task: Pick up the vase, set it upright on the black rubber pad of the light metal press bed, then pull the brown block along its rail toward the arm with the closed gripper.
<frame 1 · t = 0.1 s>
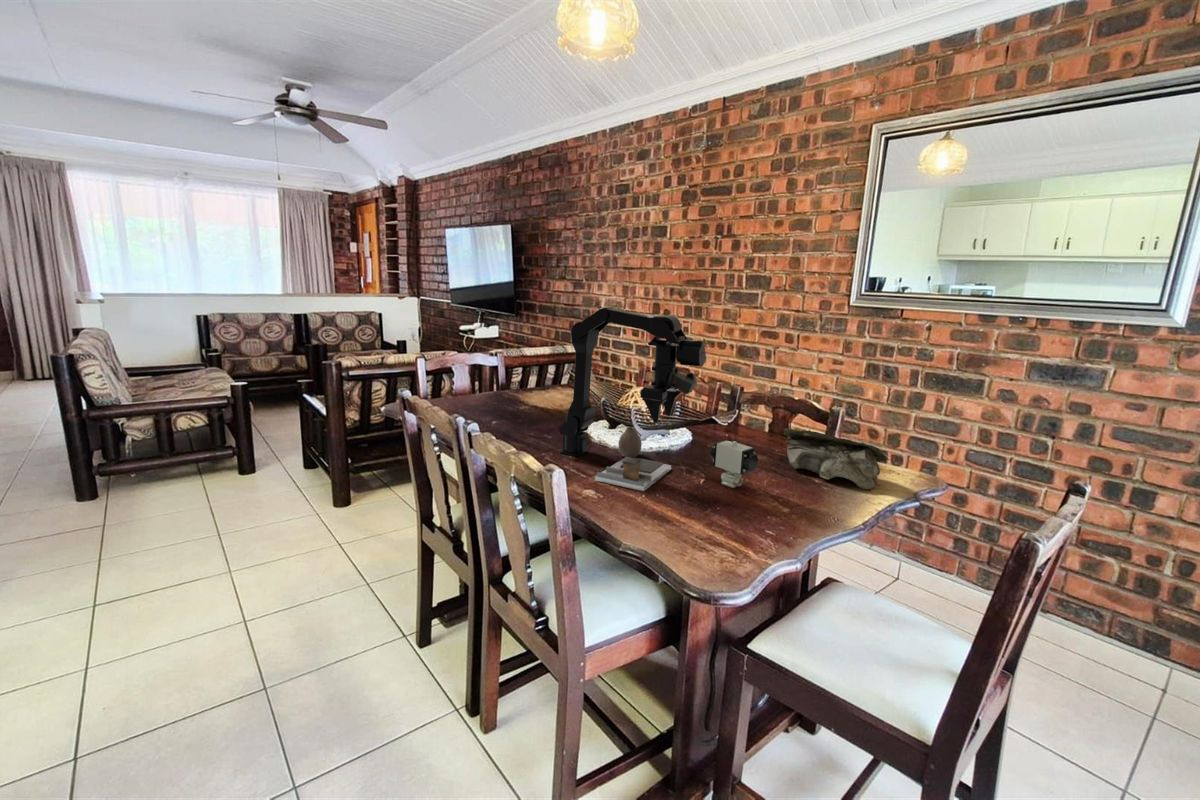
hand: (662, 419, 149), 15 cm above the table, tool pointing down, fingers open, 9 cm apart
press bed: (634, 474, 147), on the table
brown block: (631, 469, 140), point 4 cm above the table, slide at 0.0 cm
pneumatic valve: (732, 485, 142), on the table
hollow geode rock: (827, 475, 151), on the table
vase: (629, 456, 163), on the table
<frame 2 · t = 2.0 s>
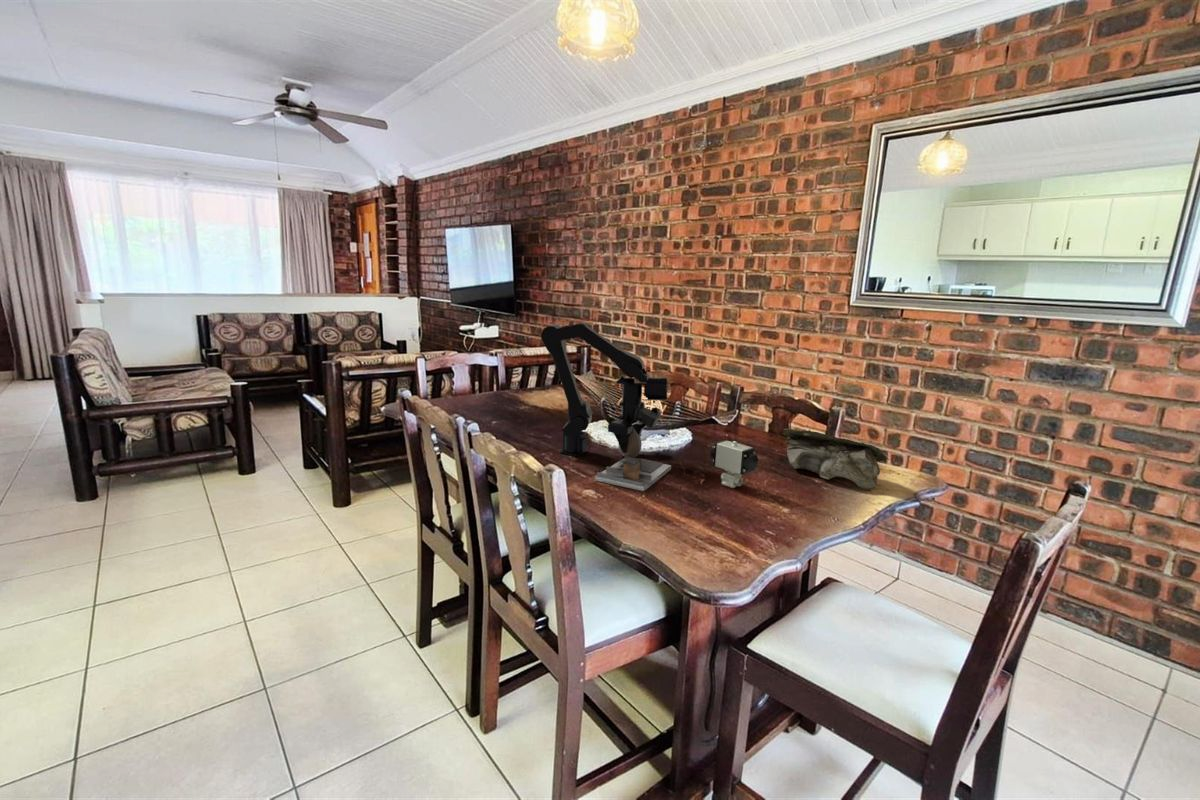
hand: (629, 449, 162), 2 cm above the table, tool pointing down, fingers closed on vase, 7 cm apart
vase: (629, 456, 163), on the table, touching gripper
everything else where it was.
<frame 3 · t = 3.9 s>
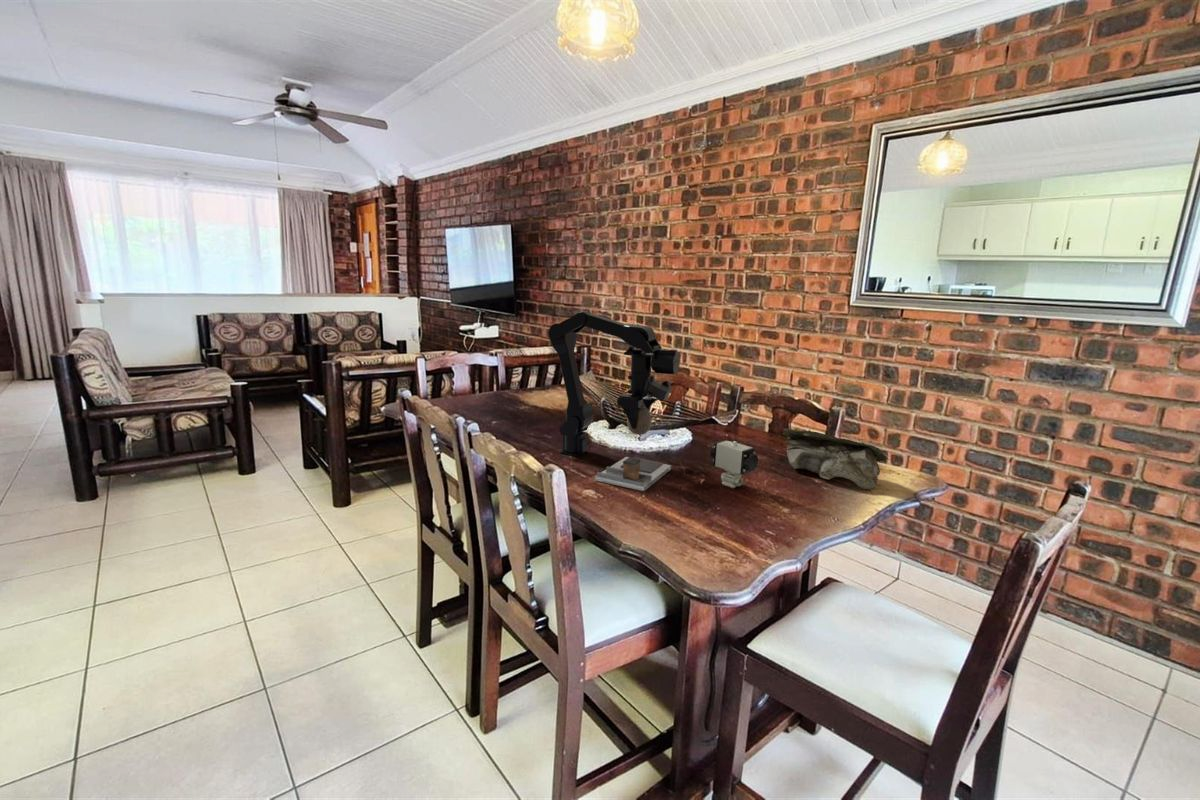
hand: (639, 425, 154), 11 cm above the table, tool pointing down, fingers closed on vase, 7 cm apart
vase: (639, 433, 154), point 9 cm above the table, touching gripper
everything else where it was.
when the fingers open (5 cm above the table, at t = 5.9 s): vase drops 1 cm, resting on press bed.
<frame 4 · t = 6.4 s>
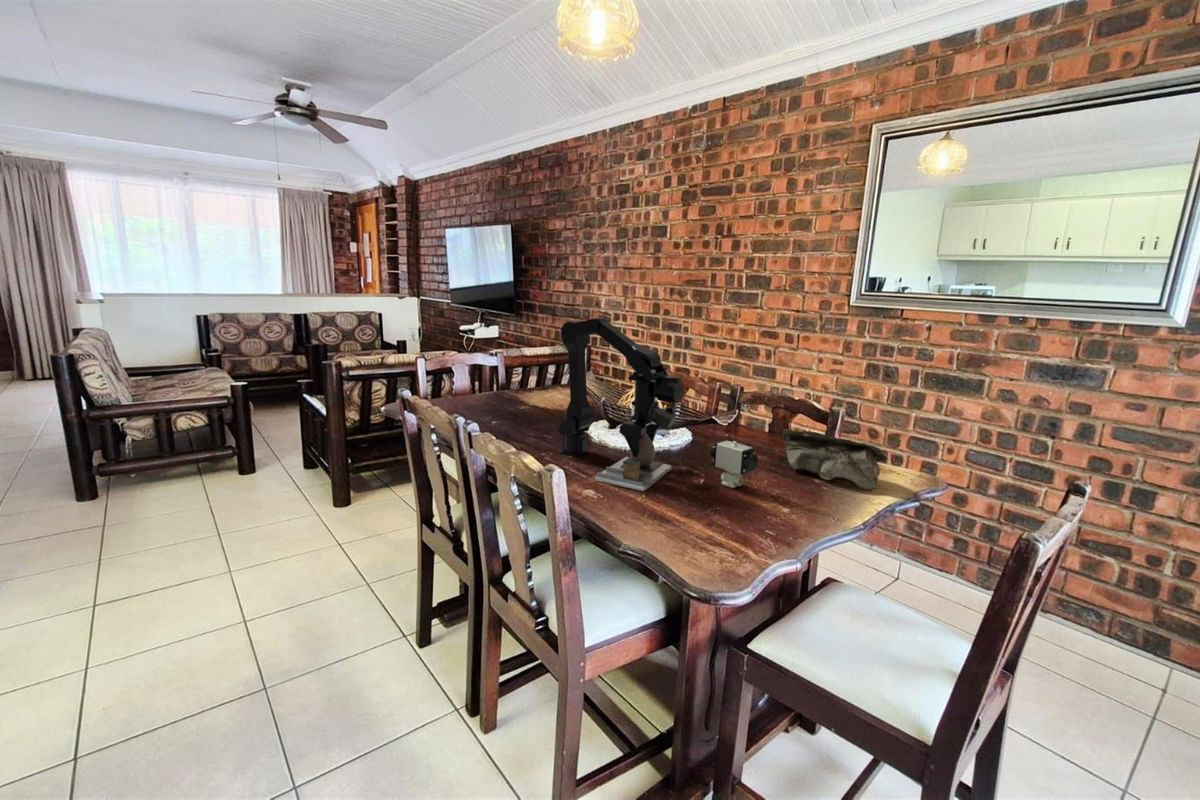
hand: (642, 452, 150), 5 cm above the table, tool pointing down, fingers open, 9 cm apart
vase: (641, 464, 151), point 1 cm above the table, touching press bed
everything else where it was.
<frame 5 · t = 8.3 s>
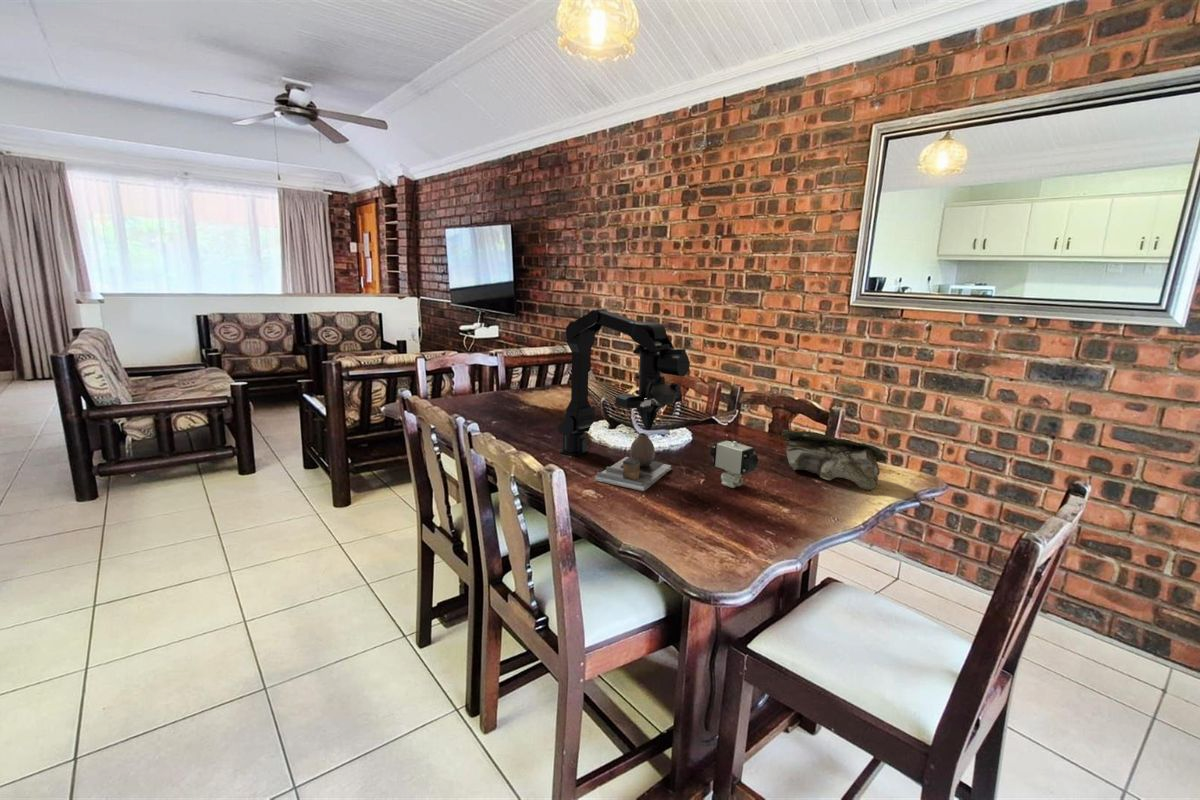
hand: (648, 429, 144), 13 cm above the table, tool pointing down, fingers closed
nothing on the table moved.
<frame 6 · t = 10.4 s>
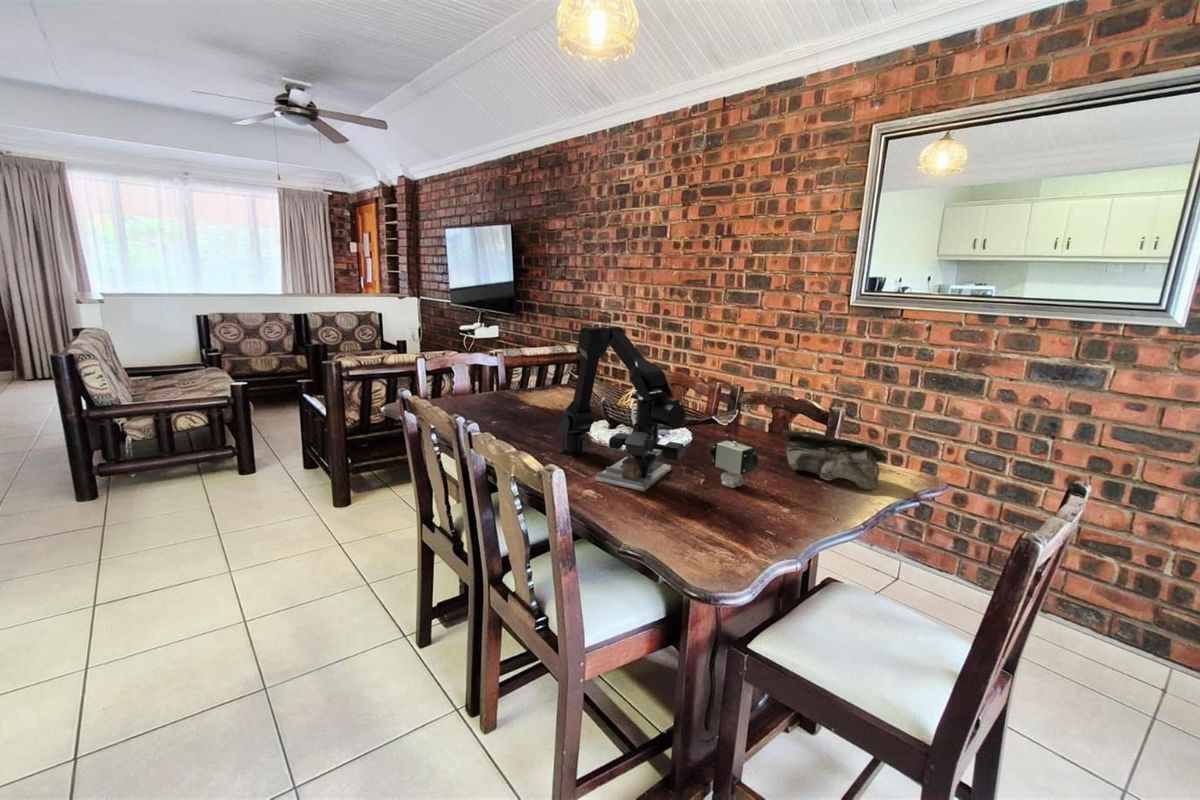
hand: (644, 477, 138), 2 cm above the table, tool pointing down, fingers closed
brown block: (630, 469, 140), point 4 cm above the table, slide at 0.2 cm, touching gripper
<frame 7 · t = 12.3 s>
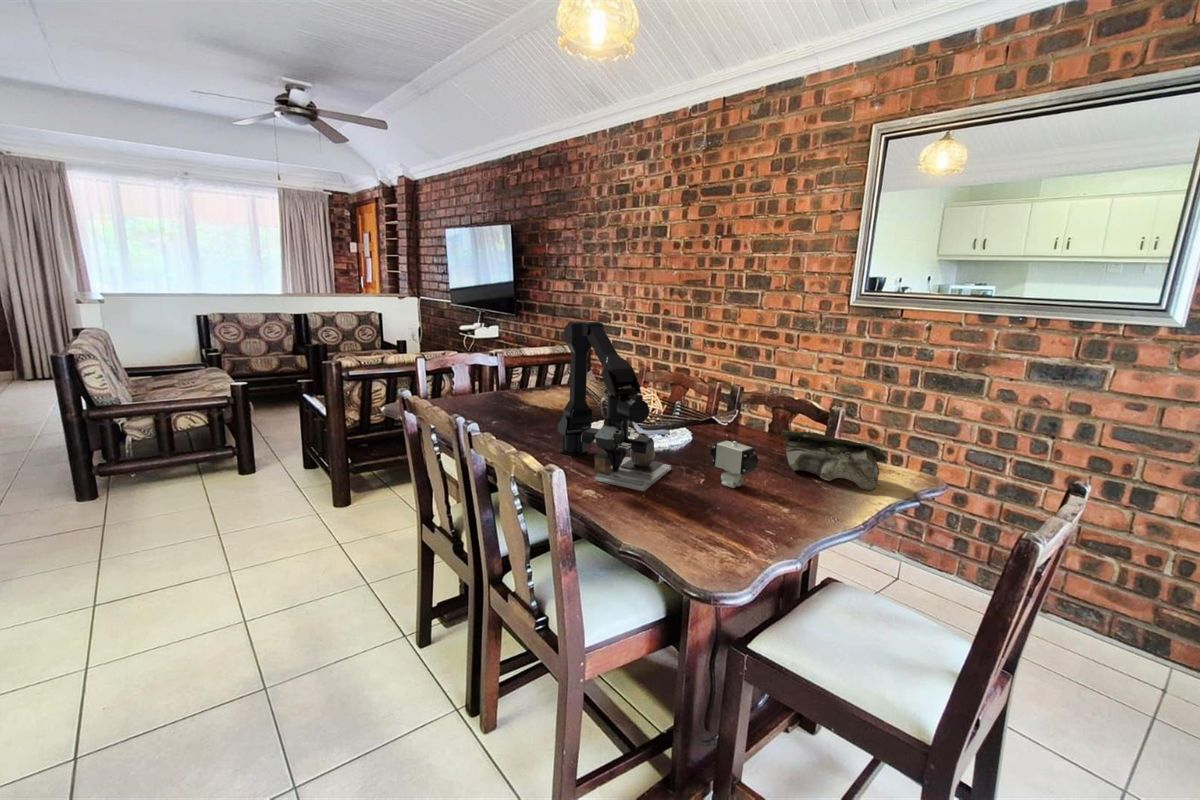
hand: (615, 471, 142), 2 cm above the table, tool pointing down, fingers closed
brown block: (602, 463, 143), point 4 cm above the table, slide at 8.4 cm, touching gripper
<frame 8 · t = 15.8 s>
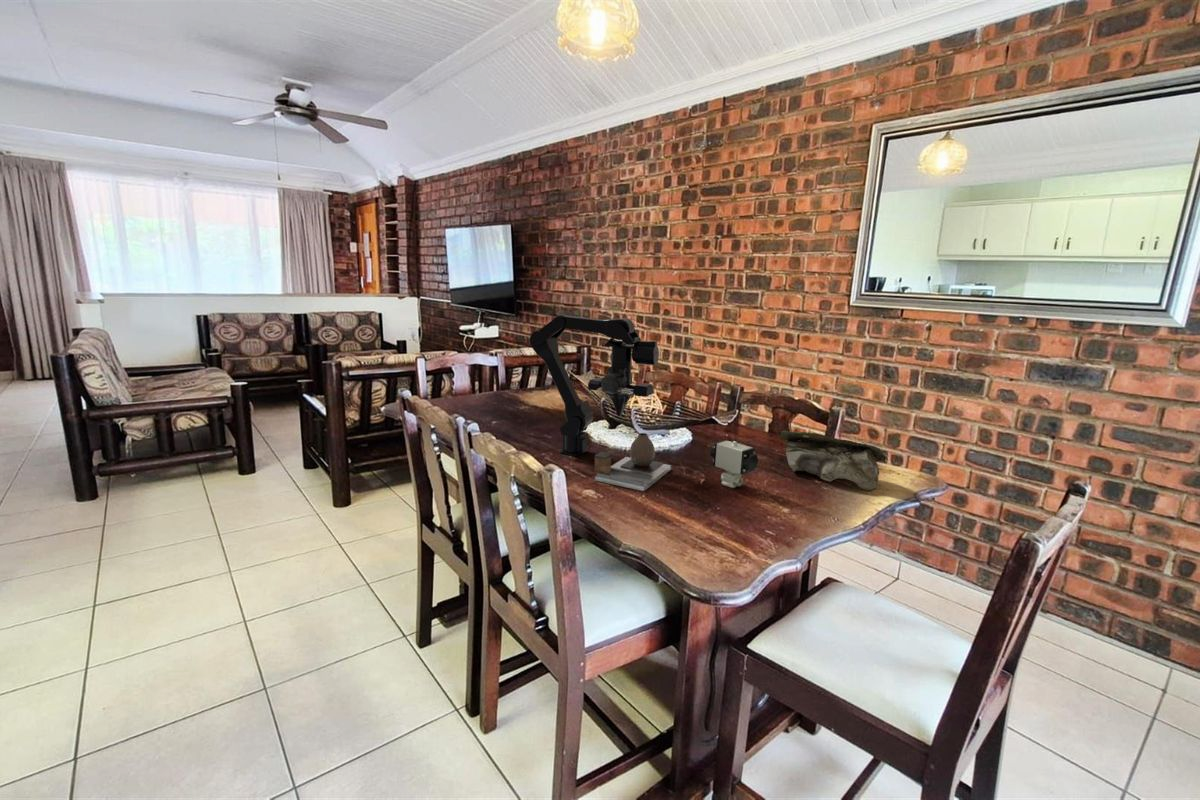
hand: (619, 415, 157), 13 cm above the table, tool pointing down, fingers closed
brown block: (602, 463, 143), point 4 cm above the table, slide at 8.4 cm
at the end: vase inside the target area on the press bed (0.1 cm from its centre), point 1.3 cm above the press bed's base; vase tilted 0°; brown block slide at 8.4 cm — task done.
